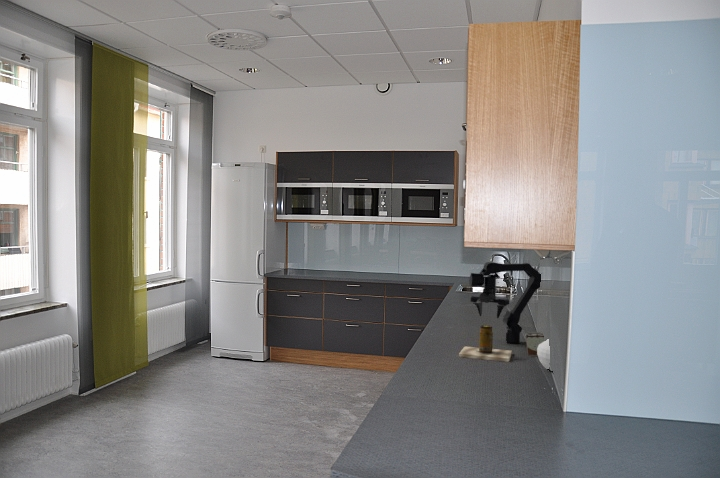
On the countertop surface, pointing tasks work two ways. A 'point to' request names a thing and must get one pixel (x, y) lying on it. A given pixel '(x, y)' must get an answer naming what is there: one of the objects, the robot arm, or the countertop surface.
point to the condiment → (486, 340)
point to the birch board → (471, 353)
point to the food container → (533, 342)
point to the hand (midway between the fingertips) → (489, 317)
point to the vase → (544, 353)
